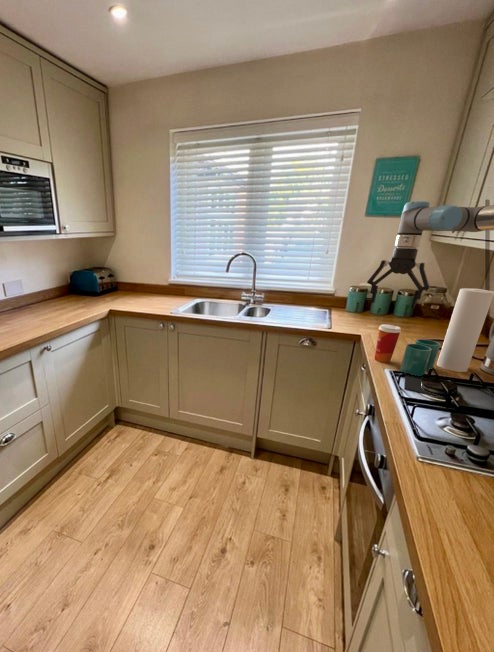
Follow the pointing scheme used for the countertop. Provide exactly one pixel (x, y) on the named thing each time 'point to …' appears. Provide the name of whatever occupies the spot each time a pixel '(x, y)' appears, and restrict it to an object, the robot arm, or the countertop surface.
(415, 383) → the mat
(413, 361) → the teal cup
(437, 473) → the countertop surface
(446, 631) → the countertop surface
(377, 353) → the paper cup
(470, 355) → the paper towel roll
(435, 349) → the teal cup
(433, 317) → the countertop surface
